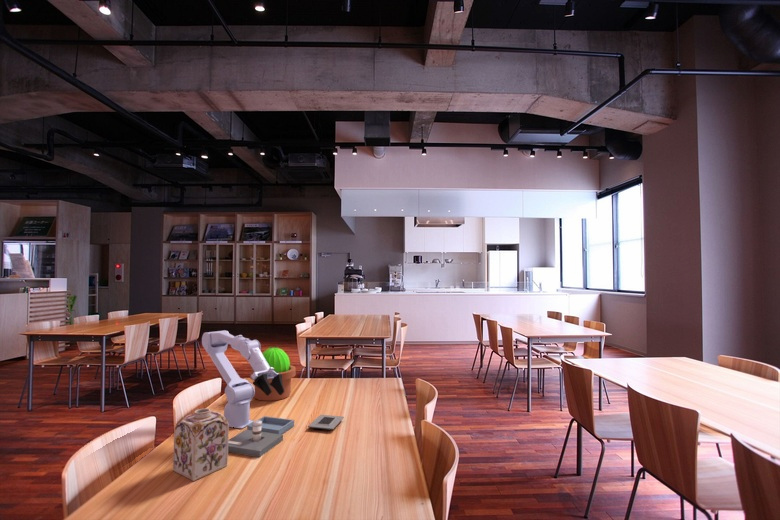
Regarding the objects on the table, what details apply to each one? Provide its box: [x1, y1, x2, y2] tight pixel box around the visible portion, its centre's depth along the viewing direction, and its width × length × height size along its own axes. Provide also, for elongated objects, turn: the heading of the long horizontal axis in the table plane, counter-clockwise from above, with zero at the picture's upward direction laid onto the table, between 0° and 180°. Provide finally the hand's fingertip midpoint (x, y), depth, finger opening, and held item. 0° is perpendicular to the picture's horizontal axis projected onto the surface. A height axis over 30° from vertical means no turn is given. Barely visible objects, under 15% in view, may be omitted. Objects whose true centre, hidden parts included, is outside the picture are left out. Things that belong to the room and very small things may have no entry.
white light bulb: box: [251, 419, 262, 442], centre depth 136 cm, size 3×3×8 cm
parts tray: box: [246, 415, 295, 435], centre depth 150 cm, size 14×11×2 cm
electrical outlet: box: [307, 414, 345, 431], centre depth 154 cm, size 13×10×2 cm
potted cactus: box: [249, 346, 297, 402], centre depth 193 cm, size 22×22×25 cm
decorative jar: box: [172, 408, 230, 482], centre depth 119 cm, size 12×12×18 cm
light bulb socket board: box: [228, 429, 284, 458], centre depth 135 cm, size 16×14×2 cm
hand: (276, 393), depth 143 cm, fingers open, 7 cm apart
